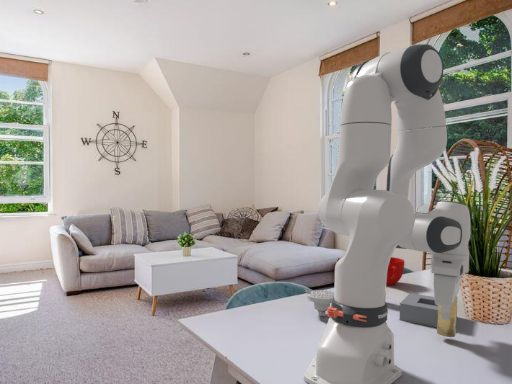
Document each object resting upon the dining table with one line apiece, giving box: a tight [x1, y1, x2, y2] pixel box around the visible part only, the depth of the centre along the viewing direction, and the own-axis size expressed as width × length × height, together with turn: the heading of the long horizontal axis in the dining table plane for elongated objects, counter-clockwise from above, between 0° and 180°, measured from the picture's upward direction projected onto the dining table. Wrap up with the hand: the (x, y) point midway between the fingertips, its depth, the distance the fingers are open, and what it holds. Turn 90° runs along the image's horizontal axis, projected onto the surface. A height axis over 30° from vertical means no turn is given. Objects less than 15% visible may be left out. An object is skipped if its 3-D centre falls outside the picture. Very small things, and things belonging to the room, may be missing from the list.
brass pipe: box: [436, 295, 458, 338], centre depth 102 cm, size 4×4×10 cm
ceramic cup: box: [386, 256, 405, 286], centre depth 159 cm, size 13×17×10 cm
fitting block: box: [399, 292, 458, 328], centre depth 118 cm, size 14×14×5 cm
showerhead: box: [305, 289, 334, 317], centre depth 119 cm, size 9×7×10 cm
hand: (446, 316), depth 102 cm, fingers closed on brass pipe, 4 cm apart
